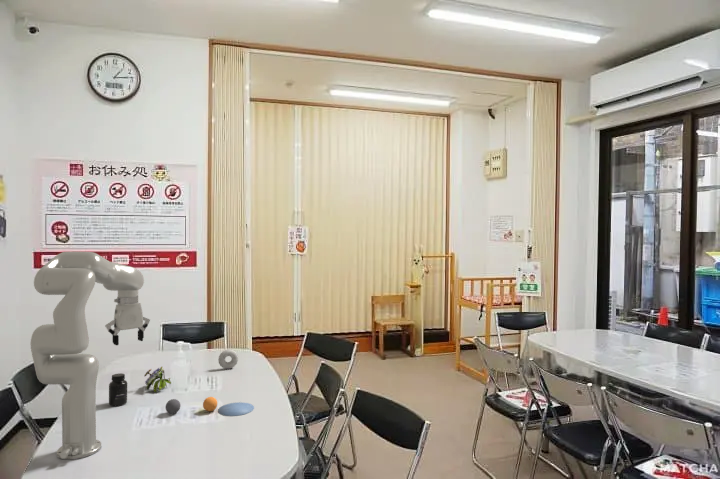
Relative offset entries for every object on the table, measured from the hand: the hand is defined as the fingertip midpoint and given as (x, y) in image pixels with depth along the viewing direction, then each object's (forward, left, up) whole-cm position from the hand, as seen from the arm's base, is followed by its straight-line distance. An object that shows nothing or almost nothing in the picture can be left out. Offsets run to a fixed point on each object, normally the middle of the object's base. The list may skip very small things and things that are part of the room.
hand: (128, 342), depth 197 cm
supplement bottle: (+4, +5, -26) cm, 27 cm away
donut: (+47, -36, -26) cm, 65 cm away
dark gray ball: (-11, -19, -23) cm, 32 cm away
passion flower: (+21, -7, -26) cm, 34 cm away
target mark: (-11, -43, -26) cm, 51 cm away
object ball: (-11, -33, -23) cm, 42 cm away
